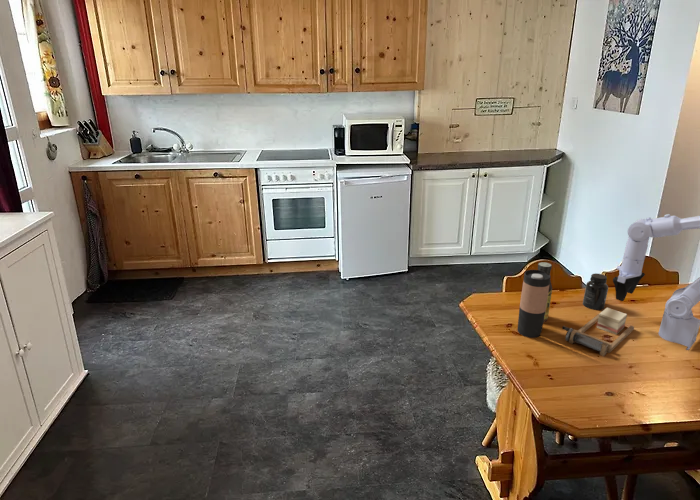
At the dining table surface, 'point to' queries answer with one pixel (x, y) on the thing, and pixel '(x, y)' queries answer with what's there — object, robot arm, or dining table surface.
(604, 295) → the supplement bottle
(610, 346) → the bay
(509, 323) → the dining table surface
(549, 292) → the sauce bottle
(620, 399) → the dining table surface
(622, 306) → the dining table surface
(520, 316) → the travel mug
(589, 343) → the winch
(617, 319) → the red striped cream box
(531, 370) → the dining table surface
